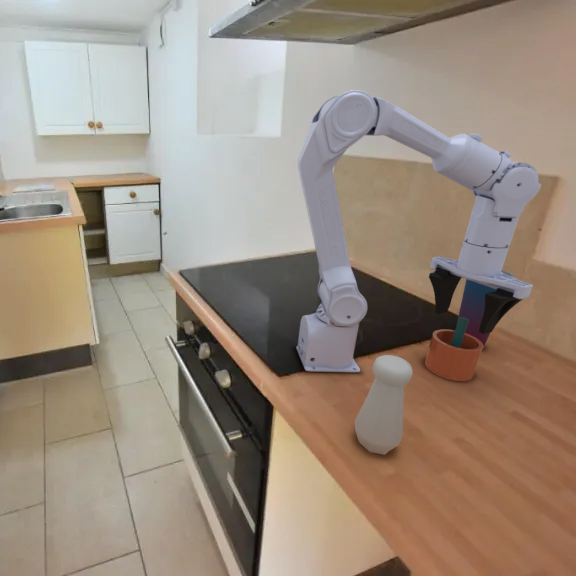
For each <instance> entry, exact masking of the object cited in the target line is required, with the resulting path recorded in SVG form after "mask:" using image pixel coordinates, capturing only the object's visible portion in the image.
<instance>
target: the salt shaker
mask: <svg viewBox="0 0 576 576" xmlns="http://www.w3.org/2000/svg"><path fill="white" fill-rule="evenodd" d="M372 373H373V376H374V377H375V379H374V380H373V382H372V385H371V387H370V389H369V391H368V393H367V396H366V397H365V399H364V401H363V403H362V406H361V407H360V409H359V411H358V413H357V416H356V417H355V420H354V423H353V425H354V431H355V435H356V438H357V440H358V443H359V444H360V445H361V446H362V447H364V449H365V450H366V451H368V453H373V454H377V455H384V456H385V455H386V454H388V453H389V452H390V451H392V450H393V449H395V448H397V447H399V445H400V443H401V441H402V439H403V437H404V414H405V413H404V410H405V409H404V408H405V386H406V385H408V384H409V383H410V381H411V379H412V377H413V367H412V365H411V364H410V362H408V360H406V359H405V358H402V357H400V356H397V355H393V354H383V355H380V356H378V357H376V359H375V360H374V362H373V364H372Z"/></svg>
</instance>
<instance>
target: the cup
mask: <svg viewBox="0 0 576 576" xmlns="http://www.w3.org/2000/svg"><path fill="white" fill-rule="evenodd" d="M501 272H502V273H505V274H507V275H509V276H511V277H513V278H516V277H515V275H514V273H512V272H510V271H507V270H505V269H504V270H503V269H502V271H501ZM496 290H497V289H494V288H491V287H488V286H485V285H482V284H479V283H476V282H474V281H471V280H468V279H465V283H464V288H463V293H462V298H461V302H460V306H459V307H460V308H459V312H458V316H457V321H456V323H457V322H458V319H459V317H465V318H468V319H469V321H468V325H467V328H466V331H465V333H466V334H469V335H471V336H473V337H475V338H477V339H478V340H480V341H481V342H482V344H483V349H484V348H485V346H486V344H487V341H488V339H489V337H490V334H491V332H490V333H486V334H482V333H480V332H479V328H480V324H481V321H482V318H483V315H484V310H485V294H486V293H489V292H496ZM456 326H457V324H456V325H455V327H456Z"/></svg>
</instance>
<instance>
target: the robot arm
mask: <svg viewBox="0 0 576 576" xmlns="http://www.w3.org/2000/svg"><path fill="white" fill-rule="evenodd" d="M365 136H370V137H371V136H373V137H377V136H385V137H387V138H389V139H391V140H393V141H396V142H397V143H399V144H400V145H404V146H405V147H408V148H410V149H412V150H414V151H416V152H418V153H420V154H423V155H425V156H427V157H429V158H431V163H432V169H433V171H434V172H435V173H438V174H439V175H441V176H443V177H446V178H447V179H449V180H451V181H453V182H454V183H457V184H459V185H461V186H462V187H464V188H467V190H470V191H471V193H472V194H473V196H475V200H474V203H473V207H472V210H471V213H470V217H469V221H468V224H467V228H466V231H465V235H464V239H463V241H462V246H461V249H460V253H459V256H458V259H452V258H448V257H444V256H441V255H440V256H434V257H432V258H431V262H430V265H429V269H432V270H434V272H430V273H429V275H428V279H429V281H430V283H431V286H432V289H433V294H434V304H435V305H434V307H435V308H434V309H435V313H436V314H437V315H440V314H444V313H448V311H449V309H450V307H451V303H452V299H453V297H454V294H455V292H456V289H457V288H458V285H459V283H460V282H461V280H462V279H465V280H466V279H468V280H471V281H474V282H476V283H479V284H482V285H485V286H488V287H491V288H494V289H497V290H496V292H489V293H486V294H485V310H484V315H483V318H482V321H481V324H480V328H479V332H480V333H482V334H486V333H490V334H491V333H493V331H494V329H495V328H496V326H497V325H498V323H499V322H500V321H501V320H502V318H503V317H504V316H505V315H506V314H507V313H508V312H509V311H510V310H511V309H512V308H514V307H515V306H516V305H518V304H519V303H520V302H521V301H523V300H524V299H528V298H530V296H531V293H532V290H533V287H534V284H531V283H528V282H525V281H522V280H520V279H518V278H516V277H514V278H513V277H511V276H509V275H507V274H505V273H502V272H501V271H502V270H503V268H504V265H505V260H506V258H507V255H508V252H509V249H510V247H511V243H512V240H513V237H514V234H515V231H516V228H517V226H518V222H519V219H520V217H521V214H523V213H524V210H525V207H526V206H527V204H528V203H529V202H530V201H531V200H533V199H534V198H535V197H536V196H537V194H539V192H540V190H541V188H542V183H540V182H539V179H540V178H539V173H537V172H538V170H537V168H535V166H533V165H532V164H530V163H527V162H522V161H521V162H519V161H512V160H511V158H510V157H511V156H512V154H511V153H510V152H509V151H506V150H500V151H498V150H496V149H494V148H492V147H490V146H488V145H487V144H485V143H483V142H482V140H483V137H484V136H482V135H480V134H478V133H469V134H467V133H459V134H456V135H453V136H447V135H446V134H444V133H443V132H441V131H439V130H437V129H435V128H434V127H433V126H430V125H429V124H427V123H426V122H424V121H422V120H420V119H419V118H417V117H415V115H412V114H410V112H409V113H408V112H407V111H405V110H404V109H402V108H401V107H399V106H398V105H396V104H393V103H392V102H390V101H388V100H386V99H384V98H382V97H378V96H373V97H372V95H371V94H369V93H368V92H366V91H364V90H362V89H351V90H350V89H349V90H347V91H345V92H342V93H341V94H339V95H334V96H332V97H330V98H328V99H326V100H325V101H324V103H322V104H321V106H320V108H319V109H318V110H317V111H316V112H315V114H314V115H313V116H312V117H311V119H310V122H309V127H308V130H307V133H306V136H305V138H304V141H303V144H302V147H301V150H300V152H299V154H298V155H299V156H298V158H297V170H298V174H299V180H300V184H301V188H302V194H303V198H304V202H305V206H306V211H307V216H308V217H307V218H308V220H309V224H310V230H311V235H312V239H313V244H314V249H315V252H316V258H317V262H318V275H319V281H318V285H317V295H318V297H319V298H320V300H321V302H320V303H319V306H317V309H316V312H313V313H311V314H305V315H302V316H301V319H300V323H299V331H298V339H297V345H296V347H295V348H296V351H297V354H298V357H299V358H300V361H301V364H302V366H303V368H304V370H305V371H306V372H317V373H319V372H320V373H321V372H322V373H360V372H361V368H360V367H359V365H358V363H357V362H356V360H355V359H354V354H355V349H356V343H357V337H358V333H359V327H360V323H361V321H362V320H363V319H364V318H365V316H366V315H367V313H368V302H367V299H366V298H365V296H363V294H362V293H361V292H360V290H359V288H358V283H357V280H356V277H355V275H354V271H353V269H352V266H351V262H350V257H349V250H348V245H347V240H346V234H345V228H344V224H343V219H342V212H341V208H340V202H339V197H338V192H337V186H336V181H335V180H336V179H335V176H334V171H333V170H334V167H335V166H336V165H337V163H338V162H339V161H340V159H341V158H342V157H343V155H344V154H345V152H347V150H348V149H349V148H350V147H352V146H353V145H354V144H356V143H357V142H359V141H360V140H361V139H363V138H364V137H365Z"/></svg>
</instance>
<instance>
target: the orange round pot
mask: <svg viewBox="0 0 576 576" xmlns="http://www.w3.org/2000/svg"><path fill="white" fill-rule="evenodd" d="M454 332H455V329H444V328H442V329H437V330H434V331H433V332H432V334H431V338H430V340H429V345H428V348H427V352H426V356H425V362H424V366H425V367H426V369H428V371H430V372H431V373H432V374H434V375H436V376H438V377H439V378H443V379H446V380H449V381H455V382H467V381H470V380H472V379H473V378H474V375H475V373H476V371H477V367H478V365H479V361H480V359H481V355H482V353H483V349H484V348H483V344H482V342H481V341H480V340H478V339H477V338H475V337H473V336H471V335H469V334H466V333H465V334H464V337H463V341H462V344H461V347H460V348H457V347H454V346H451V342H452V339H453V336H454Z"/></svg>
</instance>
